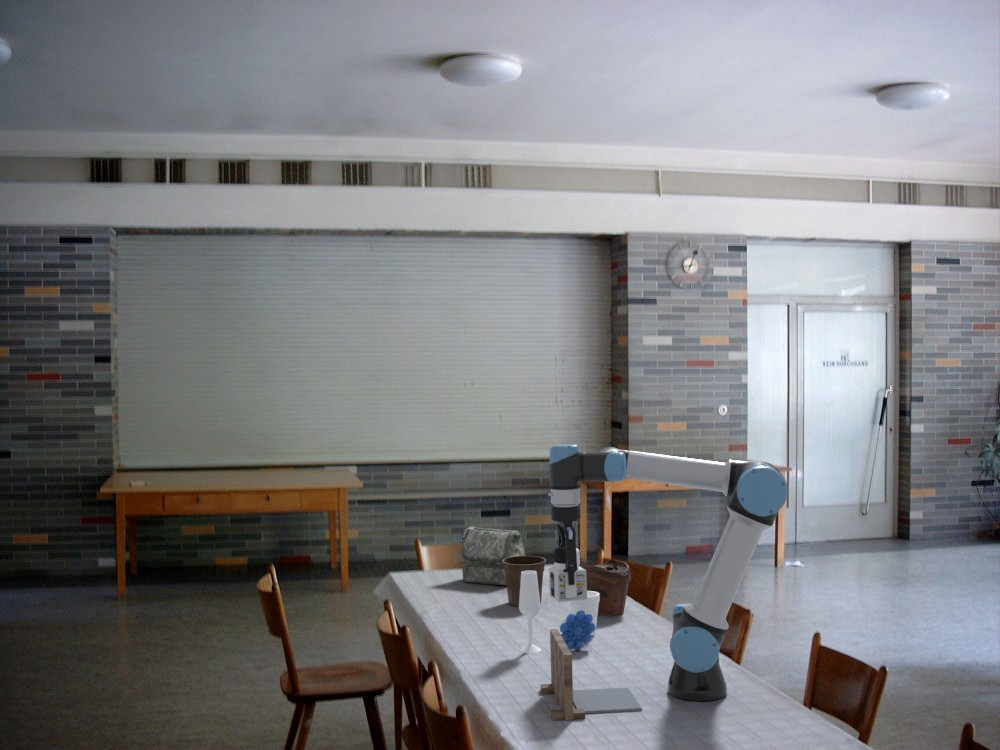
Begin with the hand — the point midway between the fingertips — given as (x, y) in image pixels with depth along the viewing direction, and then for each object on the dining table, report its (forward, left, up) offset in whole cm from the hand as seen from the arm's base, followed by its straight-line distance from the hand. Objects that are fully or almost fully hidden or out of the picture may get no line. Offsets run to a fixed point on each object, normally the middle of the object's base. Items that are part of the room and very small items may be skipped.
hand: (568, 593), depth 250 cm
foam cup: (+40, -53, -29) cm, 72 cm away
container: (0, 0, -2) cm, 2 cm away
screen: (+2, +2, -28) cm, 28 cm away
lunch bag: (+121, -91, -29) cm, 154 cm away
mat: (-6, -7, -28) cm, 30 cm away
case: (+53, -81, -29) cm, 101 cm away
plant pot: (+84, -71, -29) cm, 113 cm away
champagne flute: (+41, -28, -29) cm, 57 cm away
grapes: (+31, -38, -29) cm, 57 cm away
